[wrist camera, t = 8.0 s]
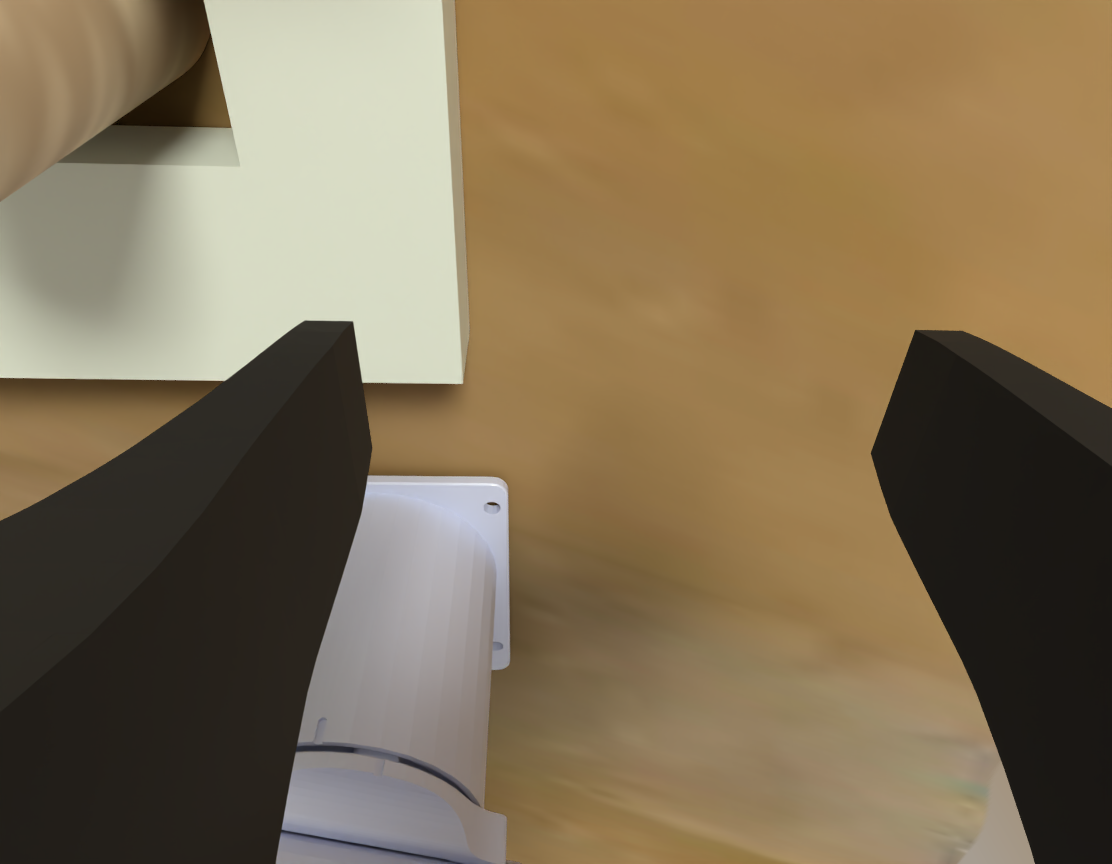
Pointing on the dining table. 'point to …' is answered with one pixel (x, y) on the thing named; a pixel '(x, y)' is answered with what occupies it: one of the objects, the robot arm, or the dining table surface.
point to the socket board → (259, 210)
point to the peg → (84, 71)
